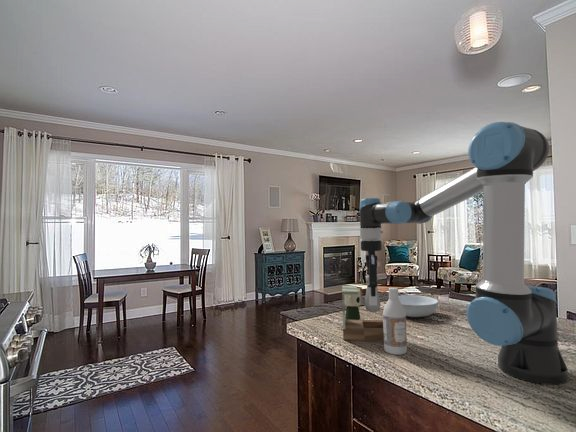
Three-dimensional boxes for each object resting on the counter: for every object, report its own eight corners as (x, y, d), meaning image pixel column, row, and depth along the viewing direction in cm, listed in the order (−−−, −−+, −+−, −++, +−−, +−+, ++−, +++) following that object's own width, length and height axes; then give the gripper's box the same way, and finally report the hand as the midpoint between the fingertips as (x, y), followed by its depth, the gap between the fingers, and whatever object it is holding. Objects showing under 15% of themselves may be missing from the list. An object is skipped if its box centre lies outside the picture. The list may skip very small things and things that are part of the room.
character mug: (359, 325, 132) (358, 292, 132) (341, 323, 134) (341, 291, 135) (363, 318, 142) (362, 288, 142) (347, 316, 144) (346, 287, 145)
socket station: (393, 342, 111) (391, 292, 112) (343, 340, 114) (342, 291, 115) (388, 331, 123) (387, 286, 124) (343, 329, 126) (342, 285, 127)
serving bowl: (409, 307, 160) (408, 293, 160) (448, 316, 142) (448, 300, 142) (379, 313, 149) (378, 298, 149) (418, 324, 131) (417, 307, 131)
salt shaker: (381, 313, 115) (380, 276, 116) (364, 312, 116) (363, 276, 117) (380, 308, 121) (379, 274, 121) (364, 308, 122) (363, 273, 123)
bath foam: (391, 356, 99) (389, 290, 100) (380, 348, 106) (378, 287, 107) (411, 354, 101) (409, 289, 101) (399, 346, 107) (397, 285, 108)
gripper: (384, 241, 110) (386, 309, 109) (378, 238, 128) (380, 297, 127) (362, 241, 111) (363, 309, 110) (359, 239, 129) (360, 297, 129)
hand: (372, 302), depth 119 cm, fingers closed on salt shaker, 6 cm apart
